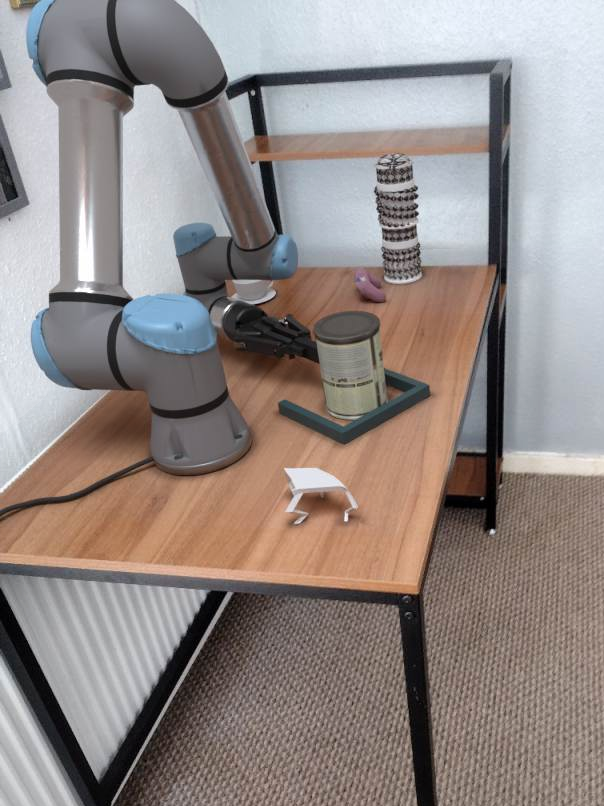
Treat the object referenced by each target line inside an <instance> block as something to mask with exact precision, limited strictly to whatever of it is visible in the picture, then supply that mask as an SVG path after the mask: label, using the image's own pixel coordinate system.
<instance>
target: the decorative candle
mask: <svg viewBox="0 0 604 806" xmlns="http://www.w3.org/2000/svg"><path fill="white" fill-rule="evenodd" d="M414 163H415V162H414V161H413V160H412V159H410V158H409V156H408V155H407V154H406V153H400V152H399V153H398V152H397V153H396V152H395V153H387V154H384V155H382V156H380V157H379V158H378V161H377V163H375V164H374V166H373V167H374V168H375V171H376V186H375V187H374V190H373V193H374V195H375V196H376V197H375V204H376V208H375V209H376V211H377V213H378V217H377V221H378V223H379V224H378V225H379V227H380V228H381V236H382V237H381V245H382V246H381V247H380V250H381V252H382V254H381V257H382V260H383V261H382V264H381V265H382V267H383V269H382V272H383V274H384V276H383V277H384V278H383V279H384V281H385V282H387V283H390V284H393V285H394V284H395V285H404V284H410V283H414V282H416V281H418V280H420V279H421V278H422V277H423V274H422V269H423V267H422V262H423V261H422V259H421V254H422V252H421V249H420V248H421V244H420V242H419V233H418V228H417V227H418V225H417V224H418V223H419V218H418V216H419V215H420V212H419V211H417V209H418V208H419V204H418V203H416V202H415V201H416V200H417V199H418V198H419V194H418V193H416V192H417V191H419V186H418V185H416V184H415V177H414V169H413V165H414Z"/></svg>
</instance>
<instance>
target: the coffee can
mask: <svg viewBox="0 0 604 806" xmlns="http://www.w3.org/2000/svg"><path fill="white" fill-rule="evenodd" d="M380 327H381V321H380V318H379V317H378V315H376V314H375V313H372V312H369V311H363V310H346V311H339V312H335V313H331V314H328V315H325V316H324V317H322V318H320V319H318V320H317V321H316V322H315V323H314V324H313V326H312V332H313V335H314V338H315V340H314V341H316V346H317V352H318V358H319V364H318V365H319V371H320V375H321V383H322V388H323V395H324V401H325V409H326V413H328V414H329V415H330V416H332V417H333V418H336V419H339V420H344V421H346V420H347V421H354V420H356V419H358V418H360V417H361V416H363V415H365V414H367V413H369V412H371V411H372V410H374V409H376V408H378V407H380V406H381V405H383V404H385V403H387V402H389V399H388V395H387V393H388V392H387V385H386V384H385V374H384V368H385V366H384V357H383V347H382V339H381V329H380Z"/></svg>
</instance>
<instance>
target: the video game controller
mask: <svg viewBox="0 0 604 806" xmlns="http://www.w3.org/2000/svg"><path fill="white" fill-rule="evenodd" d="M352 274H353V275H354V277H353V281H354V283H355V285H356V287H357V289H358V291H359V292H360V293H361V295H362V296H363V298H366V300H371V301H373V302H377V303H383V302H385V301H386V298H387V297H386V294H385V293H384V292H383V291H382V289H380V288H381V286H382V281H381V279H380V278H379V277H378V276H376V275H374V274H373V273H371V272H370V271H368V270H367V268H364V267H363V266H361V267H360V268H356V269H355V270H353V273H352Z"/></svg>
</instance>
